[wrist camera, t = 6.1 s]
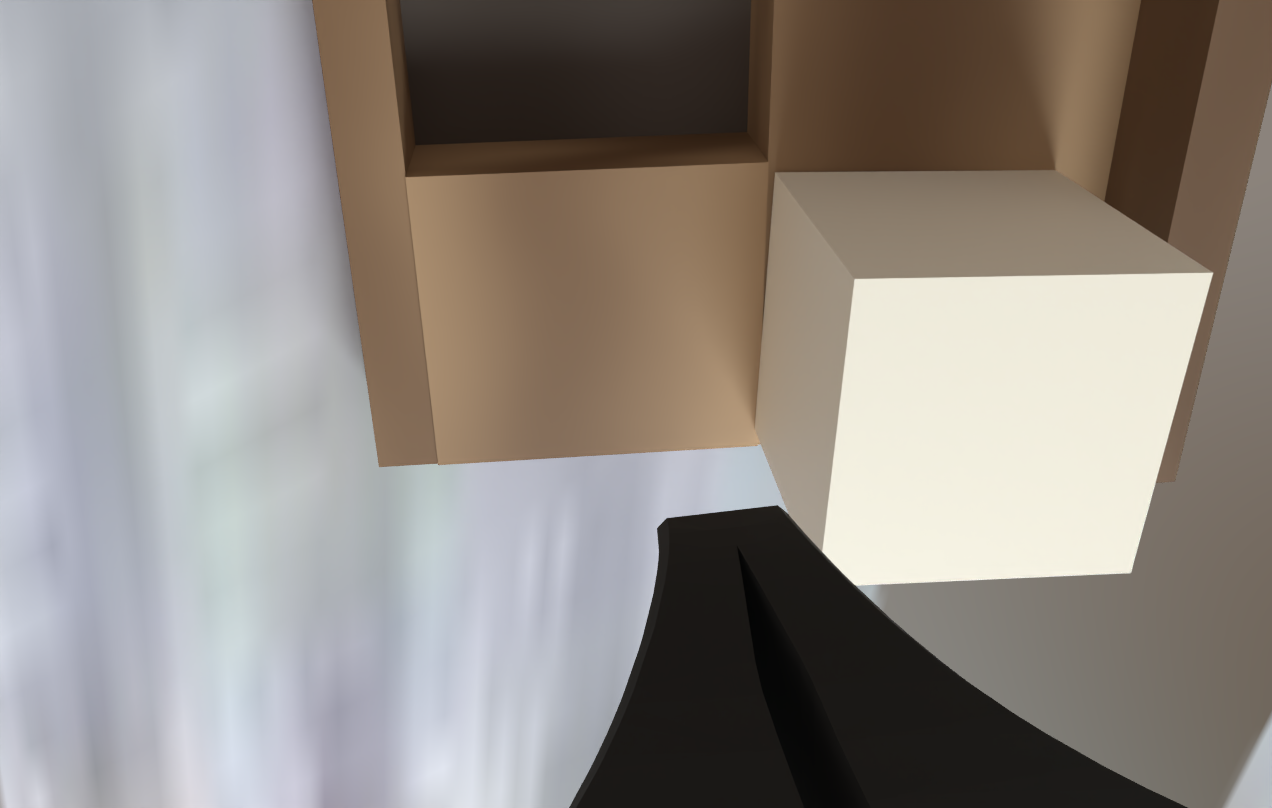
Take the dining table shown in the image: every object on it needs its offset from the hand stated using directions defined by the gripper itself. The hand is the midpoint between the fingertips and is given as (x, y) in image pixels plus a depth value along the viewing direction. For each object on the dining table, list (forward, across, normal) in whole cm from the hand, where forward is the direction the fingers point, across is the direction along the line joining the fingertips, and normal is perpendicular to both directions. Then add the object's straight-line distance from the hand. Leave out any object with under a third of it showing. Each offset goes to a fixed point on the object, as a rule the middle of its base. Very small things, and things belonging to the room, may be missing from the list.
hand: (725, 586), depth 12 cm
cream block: (+7, -4, 0) cm, 8 cm away
